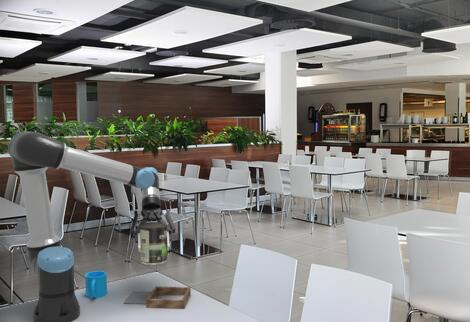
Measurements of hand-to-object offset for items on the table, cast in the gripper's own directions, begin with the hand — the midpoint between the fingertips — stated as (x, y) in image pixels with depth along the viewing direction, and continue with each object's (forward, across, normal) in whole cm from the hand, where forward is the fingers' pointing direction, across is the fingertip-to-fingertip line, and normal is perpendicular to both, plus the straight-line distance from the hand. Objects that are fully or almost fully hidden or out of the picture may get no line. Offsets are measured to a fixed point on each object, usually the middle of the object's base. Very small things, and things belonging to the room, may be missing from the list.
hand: (154, 249), depth 172 cm
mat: (+11, +5, -18) cm, 22 cm away
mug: (+6, +22, -24) cm, 33 cm away
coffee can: (+2, 0, -6) cm, 6 cm away
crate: (+15, -6, -14) cm, 21 cm away
